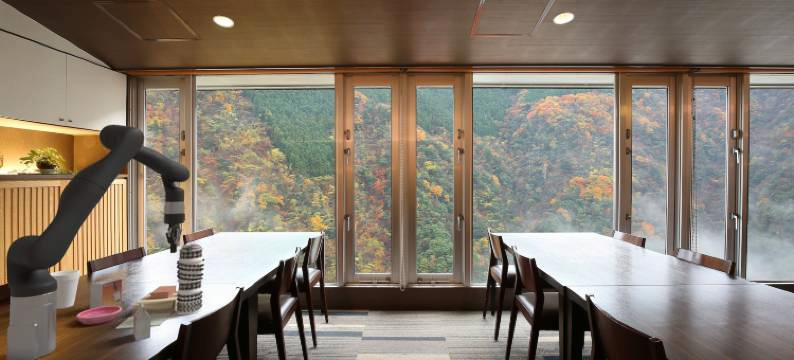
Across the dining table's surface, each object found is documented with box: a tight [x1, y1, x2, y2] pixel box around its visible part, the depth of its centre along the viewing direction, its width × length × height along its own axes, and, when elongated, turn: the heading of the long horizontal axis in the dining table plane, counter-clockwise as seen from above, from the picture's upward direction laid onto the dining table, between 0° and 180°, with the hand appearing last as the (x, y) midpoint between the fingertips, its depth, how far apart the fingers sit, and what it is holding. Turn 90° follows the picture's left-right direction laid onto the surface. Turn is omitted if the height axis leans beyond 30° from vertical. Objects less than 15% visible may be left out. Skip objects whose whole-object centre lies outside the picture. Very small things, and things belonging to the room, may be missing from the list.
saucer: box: [75, 306, 123, 326], centre depth 126 cm, size 12×12×3 cm
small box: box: [89, 277, 123, 309], centre depth 138 cm, size 8×6×10 cm
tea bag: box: [132, 302, 152, 342], centre depth 113 cm, size 4×7×10 cm, turn 42°
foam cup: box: [50, 269, 81, 310], centre depth 139 cm, size 10×9×13 cm
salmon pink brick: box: [150, 285, 177, 299], centre depth 142 cm, size 9×6×2 cm, turn 15°
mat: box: [115, 313, 173, 330], centre depth 125 cm, size 12×13×1 cm
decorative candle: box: [176, 244, 205, 316], centre depth 136 cm, size 9×9×25 cm
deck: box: [131, 290, 178, 316], centre depth 139 cm, size 16×13×4 cm
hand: (173, 252), depth 152 cm, fingers closed
